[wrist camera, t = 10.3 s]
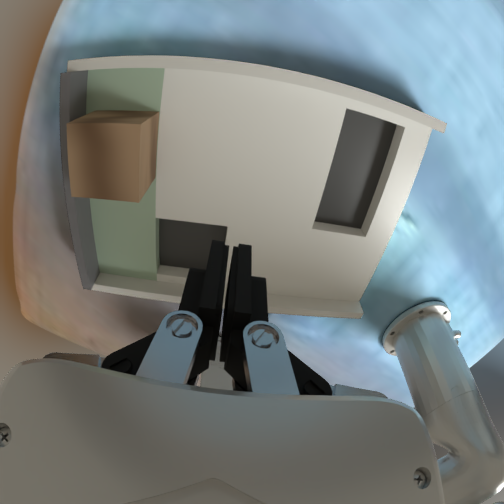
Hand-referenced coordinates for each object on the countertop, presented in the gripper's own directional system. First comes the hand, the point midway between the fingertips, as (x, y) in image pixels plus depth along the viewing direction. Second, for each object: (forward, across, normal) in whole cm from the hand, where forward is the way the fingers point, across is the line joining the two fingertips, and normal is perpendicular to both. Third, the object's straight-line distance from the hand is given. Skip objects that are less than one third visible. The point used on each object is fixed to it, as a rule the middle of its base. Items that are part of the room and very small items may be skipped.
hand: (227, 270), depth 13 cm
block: (+14, +10, -1) cm, 17 cm away
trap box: (+17, -1, +3) cm, 17 cm away
